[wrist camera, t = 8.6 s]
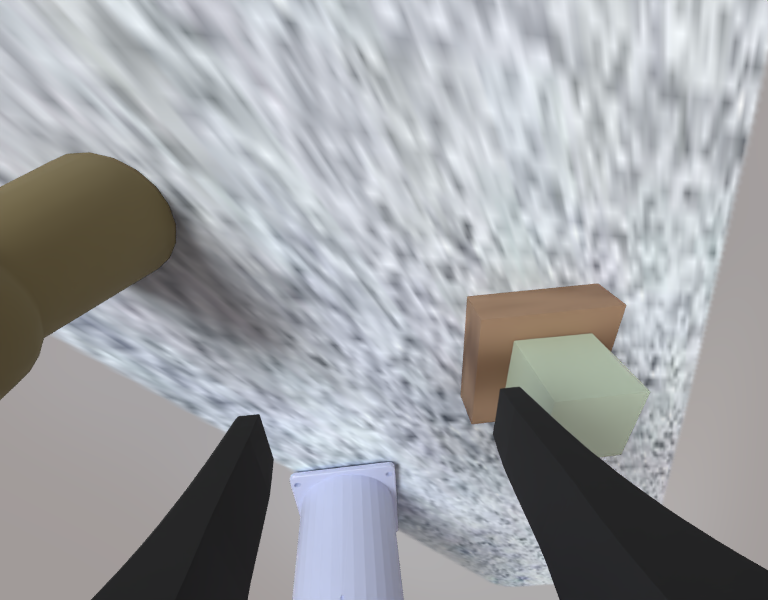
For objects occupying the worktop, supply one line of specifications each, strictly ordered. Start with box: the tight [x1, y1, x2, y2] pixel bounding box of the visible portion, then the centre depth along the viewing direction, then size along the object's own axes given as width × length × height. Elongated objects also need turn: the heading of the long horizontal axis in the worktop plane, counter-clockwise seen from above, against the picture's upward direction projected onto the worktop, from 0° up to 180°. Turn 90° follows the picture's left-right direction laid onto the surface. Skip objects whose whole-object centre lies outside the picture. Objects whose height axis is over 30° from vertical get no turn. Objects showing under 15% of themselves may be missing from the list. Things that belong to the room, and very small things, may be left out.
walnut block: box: [461, 284, 626, 424], centre depth 23 cm, size 8×8×3 cm
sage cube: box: [505, 333, 650, 457], centre depth 19 cm, size 4×4×4 cm
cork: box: [0, 152, 176, 400], centre depth 13 cm, size 6×6×11 cm
